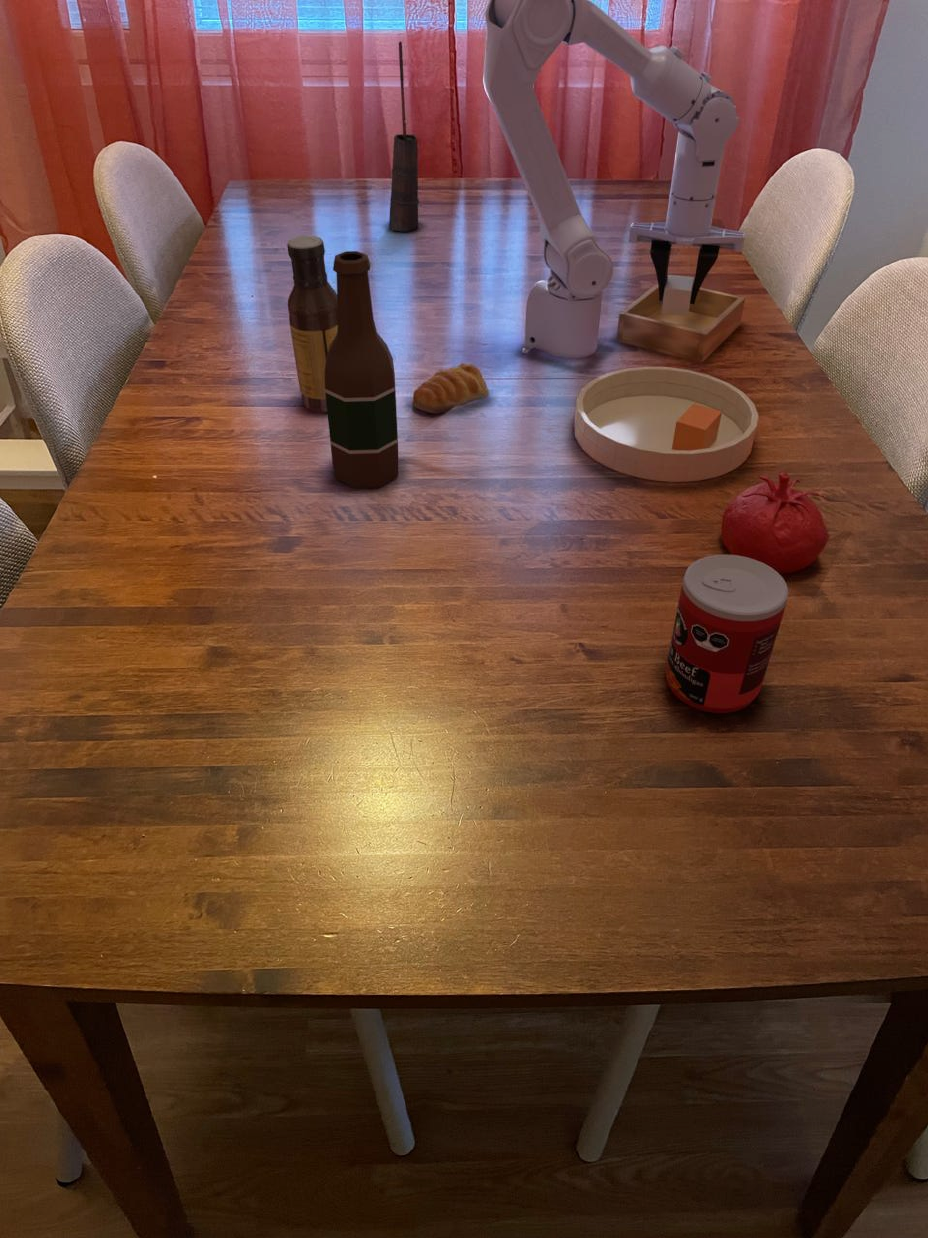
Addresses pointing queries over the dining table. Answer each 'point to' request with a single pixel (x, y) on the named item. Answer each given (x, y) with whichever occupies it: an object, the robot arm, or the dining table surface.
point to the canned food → (724, 632)
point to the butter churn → (404, 174)
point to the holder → (681, 324)
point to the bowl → (661, 423)
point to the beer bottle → (360, 384)
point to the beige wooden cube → (677, 295)
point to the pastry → (450, 389)
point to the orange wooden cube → (696, 428)
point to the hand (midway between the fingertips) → (677, 299)
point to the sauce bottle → (311, 318)
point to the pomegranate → (775, 525)
